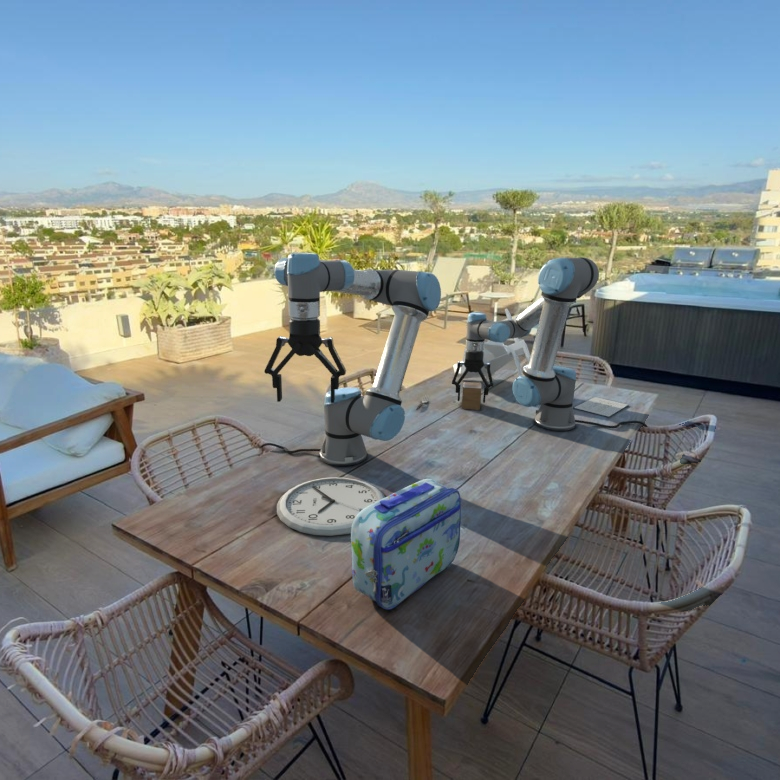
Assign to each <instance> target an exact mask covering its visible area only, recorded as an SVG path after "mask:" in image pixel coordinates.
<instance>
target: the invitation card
mask: <svg viewBox="0 0 780 780" xmlns="http://www.w3.org/2000/svg"><path fill="white" fill-rule="evenodd" d="M628 406H629V404H627V403H623V402H618V401H614V400H609V399H605V398H601V397H596V396H593V397H592V398H590V399H588V400H586V401H584V402H582V403H580V404H578V405H575V406H574V407H573V409H575V410H581V411H584V412H587V413H593V414H596V415H600V416H604V417H608V418H609V417H611V416H613V415H614V414H616V413H617V412H619V411H621V410H623V409H624V408H626V407H628Z"/></svg>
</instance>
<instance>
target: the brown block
mask: <svg viewBox="0 0 780 780" xmlns="http://www.w3.org/2000/svg"><path fill="white" fill-rule="evenodd" d="M482 385H483V383H482V382H473V381H471V382H470V381H463V383H462V394H461V396H462V397H461V409H465V410H478V411H480V410H481V400H482Z"/></svg>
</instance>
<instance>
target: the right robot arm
mask: <svg viewBox="0 0 780 780" xmlns="http://www.w3.org/2000/svg"><path fill="white" fill-rule="evenodd" d="M599 278H600V272H599V267H598V265H597V264H596V263H595V262H594V261H593V260H592V259H590V258H588V257H584V256H583V257H581V256H580V257H563V256H562V257H558V258H553V259H550V260H548V261H547V262H545V263H544V264H543V266H542V267H541V268H540V270H539V273H538V277H537V283H538V285H539V290H541V294H540V298H539V299H537V300H536V301H535V302H534V303H532V304H531V305H530V306H528V307H527V308H526V309H524V310H523V311H522V312H521V313H519V314H518V315H517V316H516V317H514V318H512V320H508V319H506V320H496V321H493V320H488V319H487V314H486V313H485V312H470V313H468V315H467V322H466V337H465V347H466V349H467V350H466V352H465V351H464V352H465V361H464V362H461V361H460V360H458V361H457V363H456V364H457V369H456V372H454V374H453V377H452V380H451V384H452V385H454V386H455V394H457V402H460V400H461V399H460V398H461V383H462V381H463V380H464V379H463V378H464V377H465V376H466V374H467V373H468V371H469V372H475V373H477V372H478V373H479V375H480V376H481V377H480V379H481V380H482V382H483V384H484V386H483V397H482V403H483V404H486V396H488V395H489V391H490V388H493V387H494V381H493V376H491V372H490V363H488V364H487V363H484V362H483V356H484V352H483V350H484V343H485V342H486V341H485V340H487V341H494V342H500V343H502V342H503V343H505V342H506V341H507V340H509V339H514V338H524V337H527V336H529V335H530V334H531V331H532V330H533V328H535V327H536V326H537V328H536V333H535V337H534V342H533V344H532V349H531V353H530V356H531V357H530V361H529V364H528V363H527V364H525V365H523V367H522V370H523V371H522V375H521V376H519V375H518V377H517V378H515V379H514V380H513V382H512V393H513V396H514V398H515V400H516V401H517V403H518V404H520V405H521V406H523V407H526V408H532V407H538V406H539V407H538V409H536V410H535V416H534V424H535V425H536V426H537V427H539V428H542V429H544V430H549V431H556V432H567V431H572V430H574V429H575V428H576V423H577V424H586V425H592V426H597V427H601V428H604V429H605V428H606V429H616V428H619V427H620V426H621V425H627V424H639V425H642V426H643V427H644V428H648V427H649V426H648V425H647V424H646V423H645V422H643V421H640V420H628V421H620V422H618V423H617V424H616V425H608V424H603V423H599V422H593V421H587V420H580V419H576V418H575V417H576V416H575V413H574V407H573V405H574V398H575V390H576V383H577V372H576V371H575V369H572V368H571V367H570V368H569V367H566V366H561V365H555V362H556V359H557V355H558V352H559V347H560V345H561V344H560V343H561V339H562V336H563V332H564V329H565V326H566V322H567V318H568V314H569V311H570V307H571V306H572V305H574V304H576V302H577V299H580V298H581V297H583V296H584V295H586V294H587V293H589V292H590V291H592V289H593V288H594V287H595V286H596V285H597V283H598V282H599ZM462 365H464V366H465V367H466V369H465V371H464V372H463V374H462V375H461V376H460V378H459V379H458V377H457V375H458V373H459V370H460V367H462ZM483 366H485V368H486V369H487V373H488V380H487V378H486V376H484V374H483V373H482V370H481V368H482V367H483ZM488 381H489V382H488Z"/></svg>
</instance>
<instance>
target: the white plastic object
mask: <svg viewBox="0 0 780 780" xmlns="http://www.w3.org/2000/svg"><path fill="white" fill-rule="evenodd" d="M504 312H505V315H506V318H507V319H506V320H512V319H513V317H512V314H511V312H510V311H509V309H508V307H506V308H504ZM513 340H514V342H513V343H511V344H508V345H507V344H505V342H502V343H500V342H494V341H491V340H488V341H485V342H484V350H483V352H484V356H483V362H484V363H487V364H488V363H490V372H491V376H492V377H493V376H495V375H496V372H498V371H499V370H501V369H502V368H503V367H505V366H506V365H508V364H509V363H511V362H512V361H514V364H515V367H516V370H517V374H518V377H519V376H521V375H522V371H523V367H522V364H521V360H520V358H519V356H522V355H525V359H526V361H527V364H529V361H530V357H531V353H530V350H529V347H528V344H527V342H526V341H525V339H521V340H520V339H519V338H513ZM466 350H467V349H466V346H465V348H464V352H463V356H462V360H461V361H460V362H464V361H465V352H466ZM452 367H453V372H454V373H455V372H456V369H457V363H454V364H453V365H452ZM465 369H466V367H465V366H464V365H462V367H460V370H459V373H458V375H457V380H458V379H459V378H460V376H461V375H462V374H463V372H464V371H465ZM481 370H482V373H483V374H484V376H485V378H486V379H489V377H488V373H487V369H486V368H485V366H483V367H482V368H481ZM475 378H481V376H480V375H479V373H478V372H477V373H475V372H469V371H468V373H467V374H466V376H465V377H464V378H463V380H465V379H466V380H467V379H475Z"/></svg>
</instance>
